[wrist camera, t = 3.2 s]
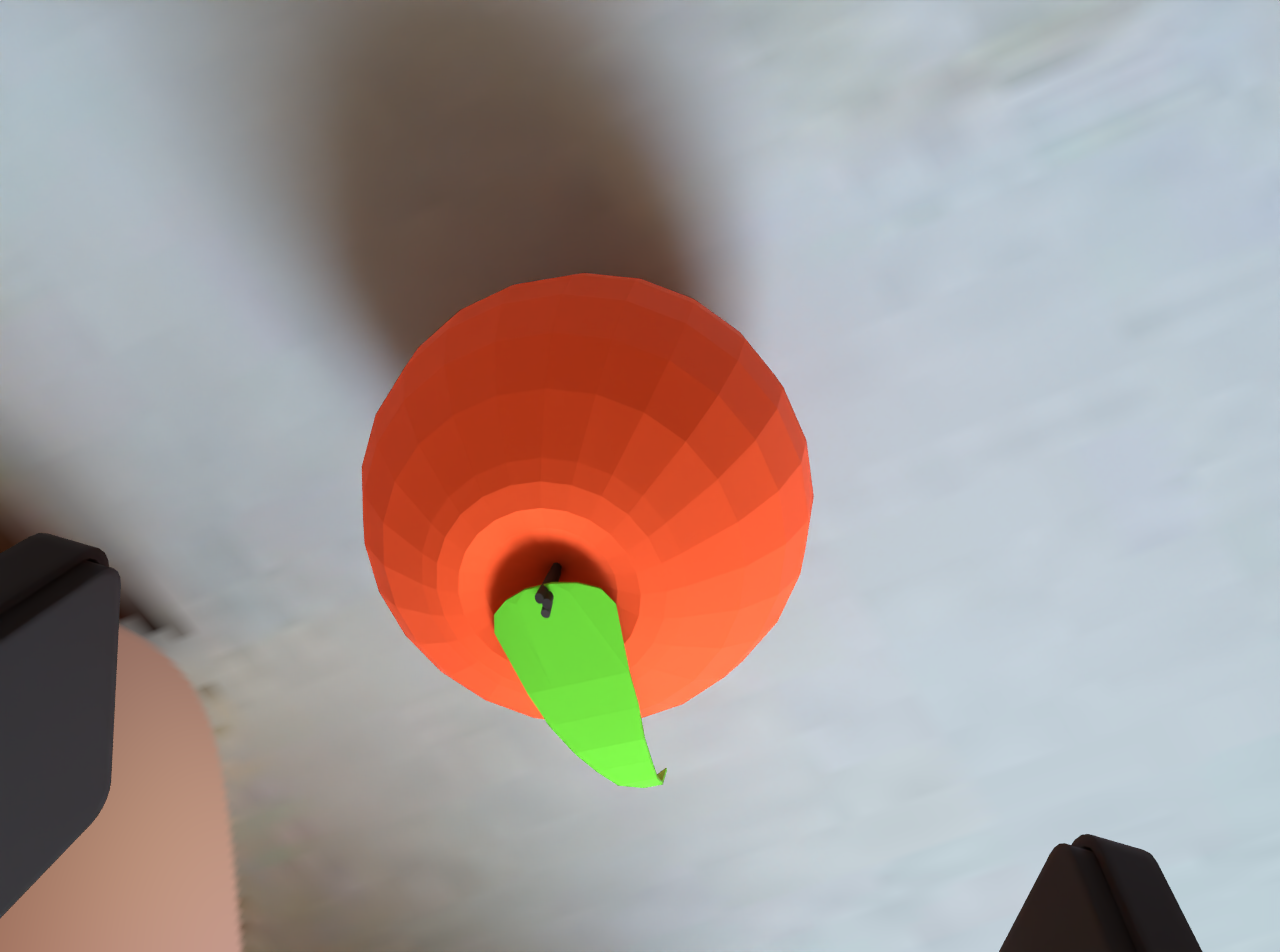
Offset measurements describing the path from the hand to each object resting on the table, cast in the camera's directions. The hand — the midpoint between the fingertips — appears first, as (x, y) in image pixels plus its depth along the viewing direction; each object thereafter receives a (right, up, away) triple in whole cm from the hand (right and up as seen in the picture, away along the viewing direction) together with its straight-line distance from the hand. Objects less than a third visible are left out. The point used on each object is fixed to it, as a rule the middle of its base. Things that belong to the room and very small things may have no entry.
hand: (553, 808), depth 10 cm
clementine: (+1, +4, +9) cm, 10 cm away
